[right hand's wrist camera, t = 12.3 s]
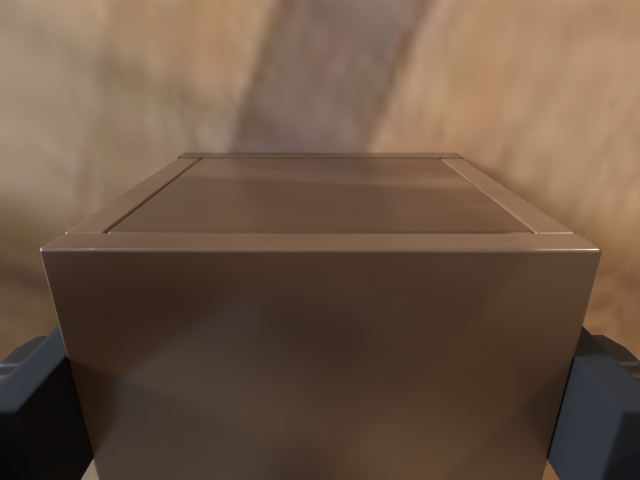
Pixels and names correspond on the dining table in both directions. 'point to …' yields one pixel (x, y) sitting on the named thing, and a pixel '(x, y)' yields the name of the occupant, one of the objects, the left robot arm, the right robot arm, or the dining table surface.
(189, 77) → the dining table surface
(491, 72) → the dining table surface
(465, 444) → the cabinet
